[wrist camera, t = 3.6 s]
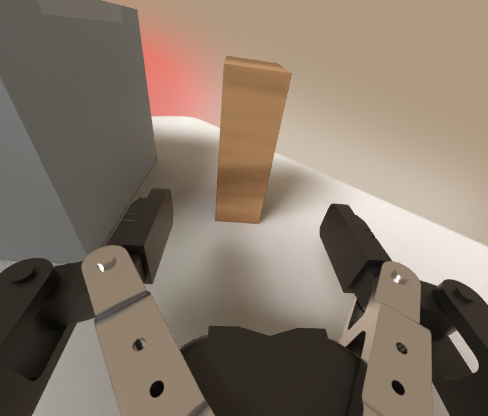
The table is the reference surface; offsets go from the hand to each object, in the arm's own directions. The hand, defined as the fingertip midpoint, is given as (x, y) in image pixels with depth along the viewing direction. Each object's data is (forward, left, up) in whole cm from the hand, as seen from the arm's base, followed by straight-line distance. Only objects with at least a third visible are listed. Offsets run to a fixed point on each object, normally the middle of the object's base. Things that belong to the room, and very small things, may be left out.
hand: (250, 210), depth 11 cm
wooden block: (+5, +8, -7) cm, 11 cm away
